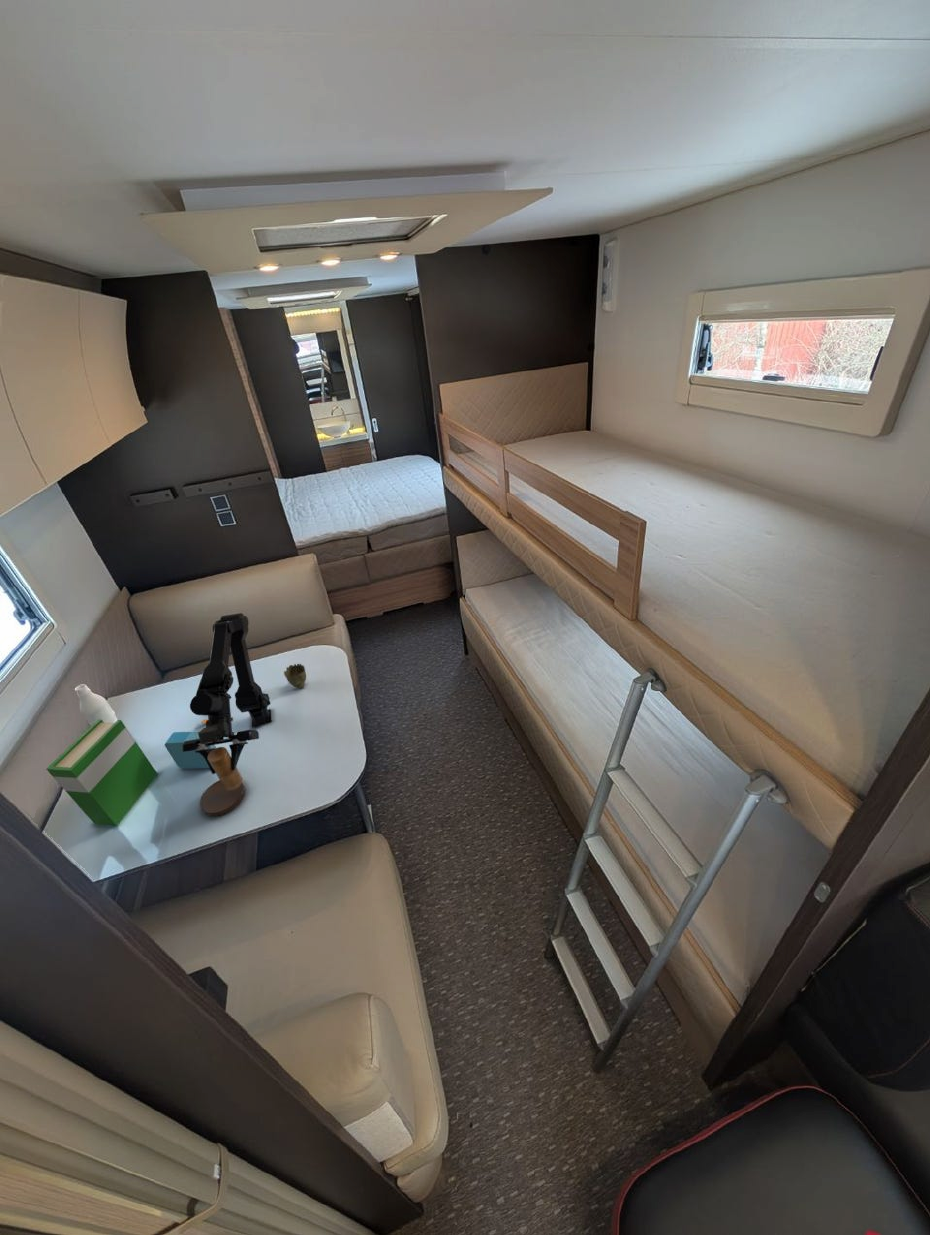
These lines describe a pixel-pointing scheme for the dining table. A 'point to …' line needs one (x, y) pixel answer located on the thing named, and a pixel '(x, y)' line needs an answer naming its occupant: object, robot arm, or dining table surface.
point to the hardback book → (104, 772)
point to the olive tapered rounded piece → (296, 675)
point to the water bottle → (94, 706)
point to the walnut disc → (221, 799)
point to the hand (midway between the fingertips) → (223, 772)
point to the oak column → (224, 768)
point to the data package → (189, 757)
